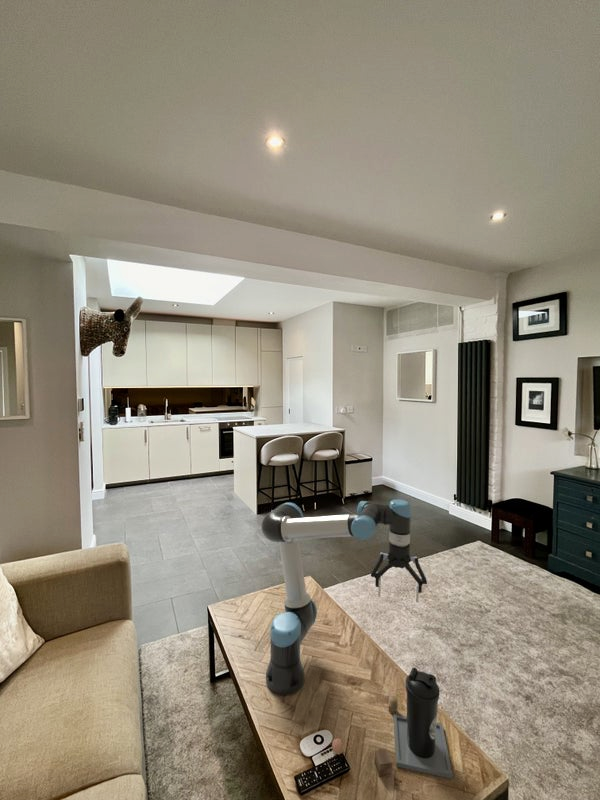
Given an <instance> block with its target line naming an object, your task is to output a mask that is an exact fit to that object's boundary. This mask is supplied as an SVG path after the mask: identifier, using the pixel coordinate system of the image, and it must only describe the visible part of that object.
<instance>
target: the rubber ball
mask: <svg viewBox="0 0 600 800" xmlns="http://www.w3.org/2000/svg"><path fill="white" fill-rule="evenodd" d="M331 749H332V750H333V751H332V752H334V754H336V755H341V754H342V752H343V751H344V743H343V740H341V738H339V737H338V738H334V739H333V740H332V744H331Z"/></svg>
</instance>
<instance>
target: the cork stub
mask: <svg viewBox="0 0 600 800" xmlns="http://www.w3.org/2000/svg"><path fill="white" fill-rule="evenodd" d="M398 701H399V699H398V697H397V696H395V695H389V697H388V713H389V714H390V715H392V716H393V714H396V715H398Z"/></svg>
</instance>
